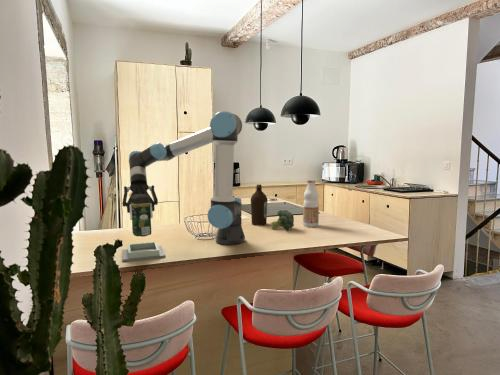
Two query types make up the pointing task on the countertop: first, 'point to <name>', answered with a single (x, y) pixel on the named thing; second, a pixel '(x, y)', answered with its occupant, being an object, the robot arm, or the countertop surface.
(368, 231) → the countertop surface
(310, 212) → the fruit juice
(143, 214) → the coffee jar
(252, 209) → the olive oil
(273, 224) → the vegetable
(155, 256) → the jar dock
